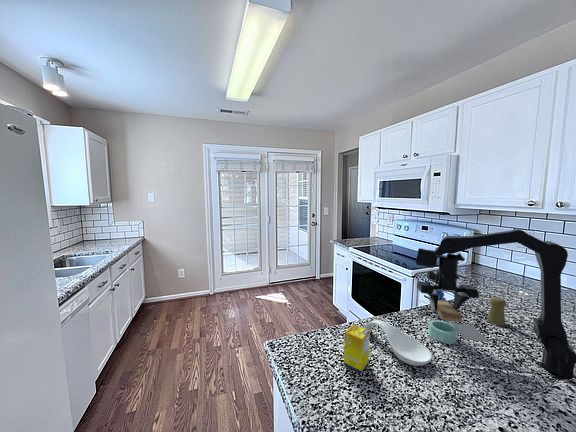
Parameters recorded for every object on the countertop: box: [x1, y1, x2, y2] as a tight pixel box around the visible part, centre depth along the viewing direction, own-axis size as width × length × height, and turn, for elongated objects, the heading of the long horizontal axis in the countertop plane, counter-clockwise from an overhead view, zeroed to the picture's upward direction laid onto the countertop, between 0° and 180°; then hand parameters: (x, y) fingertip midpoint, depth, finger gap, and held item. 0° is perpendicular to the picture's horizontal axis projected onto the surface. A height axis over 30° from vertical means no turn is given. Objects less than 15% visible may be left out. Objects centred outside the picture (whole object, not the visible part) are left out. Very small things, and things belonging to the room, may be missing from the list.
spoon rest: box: [363, 319, 433, 367], centre depth 84 cm, size 24×12×7 cm, turn 34°
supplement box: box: [343, 324, 371, 374], centre depth 75 cm, size 6×6×11 cm
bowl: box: [427, 319, 459, 345], centre depth 91 cm, size 9×9×4 cm
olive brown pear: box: [486, 296, 507, 327], centre depth 102 cm, size 6×6×11 cm
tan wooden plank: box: [429, 299, 463, 323], centre depth 90 cm, size 12×6×2 cm, turn 169°
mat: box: [450, 322, 490, 343], centre depth 95 cm, size 12×8×1 cm, turn 169°
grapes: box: [428, 291, 448, 311], centre depth 112 cm, size 12×7×12 cm, turn 125°
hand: (444, 311), depth 90 cm, fingers closed on tan wooden plank, 6 cm apart
